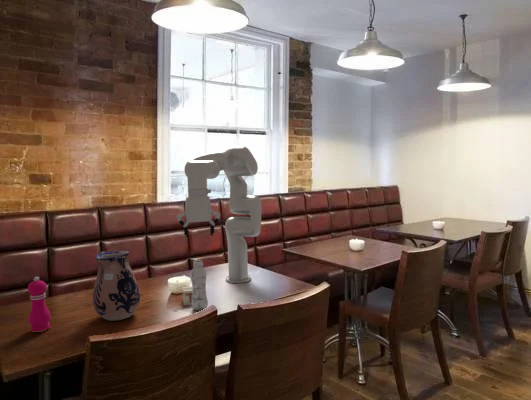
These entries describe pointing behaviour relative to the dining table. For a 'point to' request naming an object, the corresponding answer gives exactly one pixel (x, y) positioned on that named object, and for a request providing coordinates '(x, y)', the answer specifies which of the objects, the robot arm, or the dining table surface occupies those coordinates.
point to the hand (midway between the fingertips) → (199, 235)
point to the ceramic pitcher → (115, 287)
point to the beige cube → (187, 295)
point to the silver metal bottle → (199, 286)
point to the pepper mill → (38, 306)
